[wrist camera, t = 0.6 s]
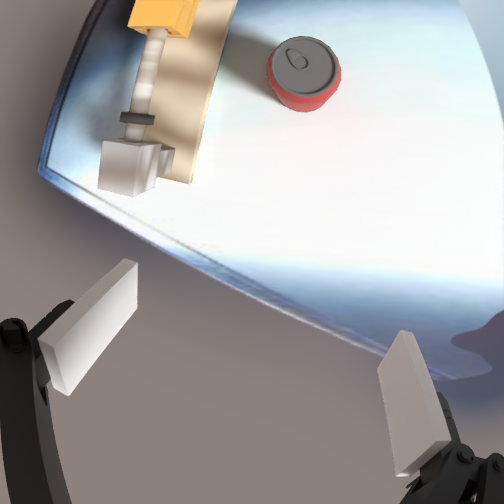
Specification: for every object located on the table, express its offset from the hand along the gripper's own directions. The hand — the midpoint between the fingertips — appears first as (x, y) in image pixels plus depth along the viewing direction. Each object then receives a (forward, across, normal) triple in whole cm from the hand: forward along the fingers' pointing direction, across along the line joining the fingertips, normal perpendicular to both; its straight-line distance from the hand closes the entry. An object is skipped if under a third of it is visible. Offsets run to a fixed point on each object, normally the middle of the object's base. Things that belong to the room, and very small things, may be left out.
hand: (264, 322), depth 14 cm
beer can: (+26, -1, +14) cm, 30 cm away
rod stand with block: (+26, -16, +13) cm, 33 cm away
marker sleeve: (+19, -16, +19) cm, 32 cm away
